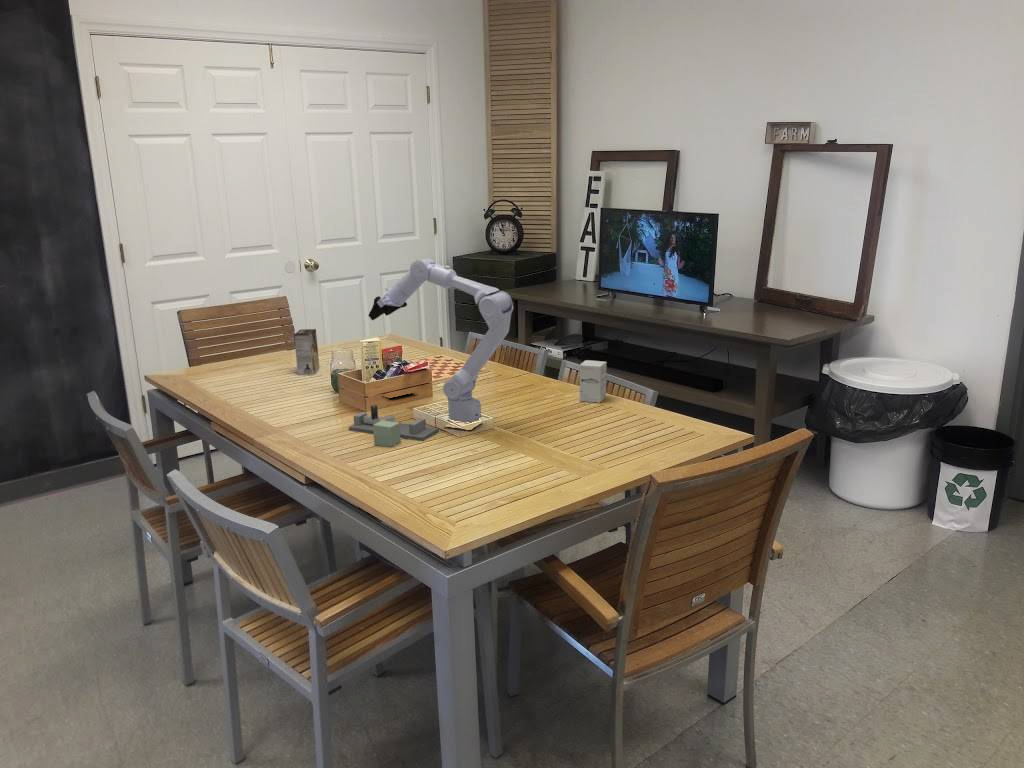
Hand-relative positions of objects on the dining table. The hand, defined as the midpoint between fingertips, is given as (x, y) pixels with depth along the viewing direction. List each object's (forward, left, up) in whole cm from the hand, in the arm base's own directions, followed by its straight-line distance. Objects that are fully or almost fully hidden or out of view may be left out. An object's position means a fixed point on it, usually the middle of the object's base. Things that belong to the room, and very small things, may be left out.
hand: (378, 315), depth 251 cm
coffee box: (+58, -35, -33) cm, 75 cm away
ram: (-5, +12, -31) cm, 34 cm away
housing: (-16, +22, -32) cm, 42 cm away
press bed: (-12, +12, -32) cm, 36 cm away
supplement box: (-56, -40, -33) cm, 76 cm away
